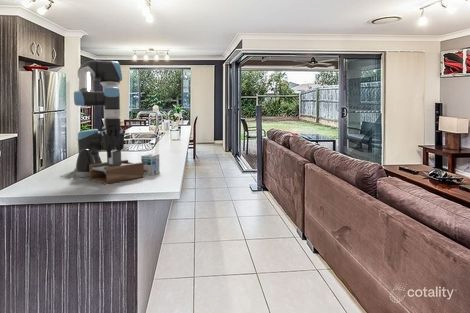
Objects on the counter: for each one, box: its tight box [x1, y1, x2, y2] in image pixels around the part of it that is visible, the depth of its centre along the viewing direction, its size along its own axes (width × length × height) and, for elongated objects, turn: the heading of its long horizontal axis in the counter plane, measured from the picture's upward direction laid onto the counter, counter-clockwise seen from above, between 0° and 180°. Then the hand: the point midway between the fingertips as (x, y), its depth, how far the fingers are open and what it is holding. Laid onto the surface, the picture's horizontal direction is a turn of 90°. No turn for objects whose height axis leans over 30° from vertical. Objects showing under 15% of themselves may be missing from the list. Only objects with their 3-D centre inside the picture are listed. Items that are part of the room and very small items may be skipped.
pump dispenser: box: [75, 149, 95, 179], centre depth 209 cm, size 10×10×15 cm
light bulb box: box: [140, 153, 160, 176], centre depth 220 cm, size 11×7×11 cm, turn 168°
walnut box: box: [89, 159, 145, 185], centre depth 204 cm, size 16×22×8 cm
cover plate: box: [92, 150, 124, 172], centre depth 202 cm, size 13×18×9 cm
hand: (114, 163), depth 202 cm, fingers closed on cover plate, 3 cm apart
